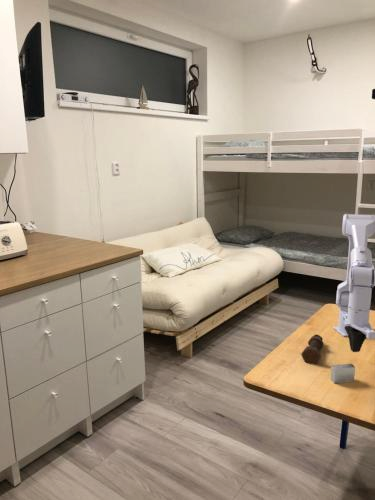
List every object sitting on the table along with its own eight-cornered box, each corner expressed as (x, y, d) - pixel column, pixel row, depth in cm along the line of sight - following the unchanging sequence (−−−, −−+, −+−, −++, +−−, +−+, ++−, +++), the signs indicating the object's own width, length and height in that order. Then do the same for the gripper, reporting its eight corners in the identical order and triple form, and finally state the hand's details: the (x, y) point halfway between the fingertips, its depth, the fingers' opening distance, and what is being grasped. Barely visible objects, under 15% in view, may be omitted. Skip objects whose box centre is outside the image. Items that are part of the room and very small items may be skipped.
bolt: (319, 349, 139) (312, 368, 126) (306, 339, 140) (298, 358, 127) (329, 336, 137) (323, 355, 123) (316, 327, 138) (308, 344, 125)
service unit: (350, 377, 118) (351, 363, 116) (354, 381, 115) (355, 367, 114) (330, 379, 117) (331, 364, 116) (333, 383, 115) (335, 368, 114)
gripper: (333, 299, 123) (330, 340, 126) (359, 318, 109) (355, 364, 112) (355, 298, 124) (352, 339, 127) (384, 316, 110) (379, 362, 113)
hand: (355, 350), depth 120 cm, fingers closed
